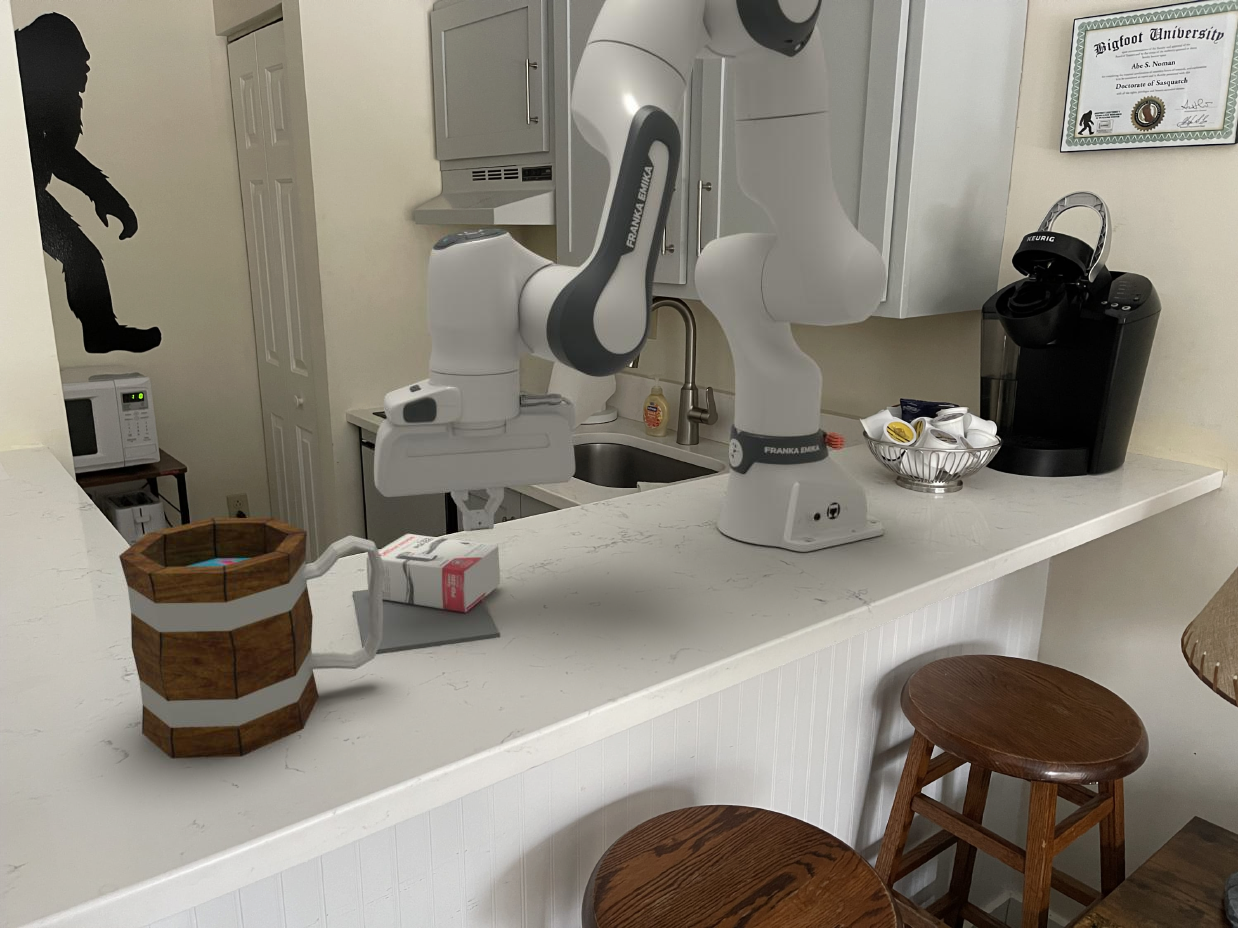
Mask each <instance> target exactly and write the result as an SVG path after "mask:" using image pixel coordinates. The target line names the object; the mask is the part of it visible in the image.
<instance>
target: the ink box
mask: <svg viewBox="0 0 1238 928" xmlns="http://www.w3.org/2000/svg"><path fill="white" fill-rule="evenodd" d="M378 552H379V554H380V556H381V559H382V561H383V563H384V579H383V593H382V599H383V600H389V601H395V602H402V603H408V604H414V605H421V606H427V607H433V608H439V609H447V610H452V611H458V612H465V613H466V612H467V611H468V610H470V609H471V608H472V607H473V606H474V605H476V604H477V603H478V602H479V601H480V600H483V599H484V598H485V597H487V596H488V595H489V594H490V593H491V592H493V591H494V590H495V589H496V588H497V587H499V586H500V585H501V572H500V558H499V557H500V556H499V554H500V552H499V545H497V544H493V543H483V542H476V541H470V540H469V541H467V540H460V539H453V538H451V539H450V538H444V537H435V536H427V535H422V534H421V535H419V534H413V533H412V534H411V533H406V534H404V535H403V536H400V537H399V538H398V539H395V540H393V542H390V543H389V544H386V546H384V547H382V548H381V549H379V550H378ZM370 577H371V564H370V561H369V557H368V556H367V557H366V578H367V581H366V582H367V590H368V596H369V586H370Z"/></svg>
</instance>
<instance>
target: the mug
mask: <svg viewBox="0 0 1238 928" xmlns="http://www.w3.org/2000/svg"><path fill="white" fill-rule="evenodd" d="M307 536H308V535H307V531H306V530H304V529H301V528H299V527H297V526H294V525H292V524H290V523H288V522H285V521H282V520H280V519H279V518H278V519H277V518H275V517H243V518H242V517H241V518H240V517H236V518H235V517H233V518H232V517H229V518H228V517H227V518H225V517H224V518H222V517H217V518H215V517H214V518H207V519H203V520H199V521H194V522H191V523H186V524H181V525H177V526H172V527H168V528H164V529H159V530H156V531H152V532H147V534H145V535H144V536H143V537H141V538H140V539H139V540H138V541H136V542H135V543H133V544H132V545H130V546H129V547H128V548H127V549H126V550H125V551H123V552H122V553H121V554H119V555H118V557H119V561H120V563H121V564H120V565H121V567H122V572H123V575H124V579H125V582H126V586H127V592H128V600H129V607H130V624H131V625H130V627H131V628H130V629H131V630H130V632H131V634H130V635H131V650H132V654H133V659H134V662H135V667H136V671H137V675H138V680H139V686H140V695H141V696H140V697H141V702H142V703H141V704H142V714H141V715H142V719H141V722H142V723H141V725H142V726H141V734H142V735H143V736H145V737H146V738H147V739H148V740H149V741H150V742H152V743H153V745H155V746H157V748H159V750H161V751H162V752H163V753H164V754H166V756H168V757H169V758H170V759H194V758H195V759H196V758H200V759H201V758H230V757H231V758H233V757H243V756H246V755H248V754H251V753H252V752H253V753H254V752H255V751H257V750H259V749H261V748H263V747H266V746H268V745H271V744H272V743H275V742H278V741H280V740H282V739H284V738H287V737H289V736H291V735H292V734H295V733H297V732H298V733H299V732H300V731H303V729H304V728H305V726H306V724H307V722H308V720H309V718H310V716H311V714H312V712H313V710H314V708H315V705H316V703H317V701H318V699H319V697H320V696H319V693H318V692H319V691H318V688H317V682H316V678H315V673H314V670H325V669H327V670H329V669H340V670H341V669H344V670H345V669H346V670H357V669H358V668H360V667H362V666H364V665H365V664H367V663H369V662H370V661H372V660H374V659H375V657H376V655H377V654H376V652H377V650H378V648H379V646H380V643H381V641H382V634H383V602H382V593H383V579H384V563H383V561H382V559H381V556H380V554H379V552H378V551H379V550H378V548H377V546H376V543H375V542H374V541H372V540H370V539H366V538H361V537H358V536H354V535H348V536H345V537H343V538H341V539H339V540H337V541H335V542H333V543H331V544H330V545H329V546H328V547H327V548H326V549H325V551H323V553H322V554H321V555H320V556H319V557H318V558H317V559H316V560H315V561H314V562H310V563H307V564H306V551H307ZM354 549H355V550H358V551H362V552H365V553H367V557H369V561H370V564H371V577H370V586H369V616H370V632H369V635H368V638H367V641H366V643H365V646H364V647H363V646H362V647H361V648H359V649H358V650H356V651H354V652H353V653H345V652H344V653H343V652H335V651H332V652H331V651H327V652H325V651H324V652H312V638H313V618H314V617H313V612H312V611H313V610H312V605H311V600H310V594H309V590H308V582H307V581H309V580H313V579H317V578H320V577H323V575H325V574H327V572H328V571H330V570H331V568H332V567H333V566H334V565H335V563H337V561H338V560H339V559H340V557H342V556H344V555H346V554H348V553H349V552H352V551H353V550H354Z"/></svg>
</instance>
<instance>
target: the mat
mask: <svg viewBox="0 0 1238 928" xmlns="http://www.w3.org/2000/svg"><path fill="white" fill-rule="evenodd" d="M352 597H353V603H354V607H355V613H356V617H357V618H356V619H357V624H358V629H359V634H360V639H361V644H362V648H363V647H364V646H365V643H366V641H367V638H368V635H369V632H370V616H369V596H368V589H362V590H354V591H352ZM382 602H383V634H382V641H381V643H380V646H379V648H378V650H377V652H376V655H377V654H382V653H383V654H384V653H391V652H398V651H405V650H412V649H421V648H426V647H428V648H429V647H434V646H440V645H441V646H442V645H448V644H456V643H463V642H471V641H478V640H484V639H493V638H500V637H501V632H500V631H499V630H500V629H498V627H497V624H496V623H495V621H494V619H493V618H492V615H491V614H490V611H489V609H488V608H487V606H486V603H485V602H484V601H483V599H482V600H480V601H479V602H478V603H477V604H476V605H474V606H473V607H472V608H471V609H470V610H468V611H467V612H466V613H465V612H458V611H452V610H447V609H439V608H433V607H427V606H421V605H414V604H408V603H402V602H395V601H389V600H383V599H382Z"/></svg>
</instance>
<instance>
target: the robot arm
mask: <svg viewBox="0 0 1238 928" xmlns="http://www.w3.org/2000/svg"><path fill="white" fill-rule="evenodd" d="M822 2H823V0H605V1H604V2H603V5H602V7H601V8H600V12H599V13H598V15H597V17H596V20H595V22H594V24H593V27H592V29H591V32H590V34H589V37H588V40H587V42H586V45H585V47H584V51H583V53H582V56H581V59H580V61H579V64H578V68H577V71H576V73H575V77H574V82H573V86H572V87H573V88H572V93H571V103H570V110H571V115H572V117H573V121H574V123H575V125H576V127H577V129H578V131H579V133H580V134H581V136H582V138H583V140H585V141H586V142H587V143H588V144H589V145H590V147H592V148H594V149H595V150H596V151H598V152H599V153H600V154H602V155H603V156H604V157H605V158H606V160H607V161H608V165H609V170H610V171H609V172H610V176H609V177H610V178H609V186H608V189H607V193H606V198H605V200H604V201H605V202H604V205H603V210H602V213H601V219H600V221H599V226H598V230H597V233H596V237H595V241H594V242H595V243H594V246H593V250H592V252H591V254H590V255H589V257H588V258H587V259H586V260H585V262H584V263H582V264H581V265H580V266H569V265H565V264H558V263H555V262H554V261H552V260H550V259H547V258H545V257H542V256H540V255H539V254H537V253H534V252H533V251H531V250H530V249H527V247H525V246H523V245H522V244H520V242H518V241H517V240H515V239H514V238H513V237H512V235H511V233H509V232H508V231H507V230H505V229H501V228H495V227H494V228H489V227H488V228H481V229H470V230H464V231H463V230H462V231H458V232H455V233H450V234H448V235H446V236H443V237H441V238H440V239H438V241H437V242H436V243H435V244H434V245H433V247H432V249H431V251H430V255H429V259H428V267H427V278H426V323H427V328H428V332H429V335H430V338H431V354H430V358H429V362H428V378H425V379H423V380H420V381H417V382H415V383H411V384H410V385H409V384H408V385H406V386H403V387H400V388H398V389H395V390H392V391H389V392H388V393H386V394H385V396H384V399H383V410H384V414H385V416H386V418H385V419H384V420H383V421H382V422H381V424H380V425H379V427H378V430H377V432H376V437H375V438H376V439H375V445H374V458H373V459H374V460H373V461H374V462H373V476H374V477H373V478H374V479H373V480H374V485H375V488H376V490H377V491H378V492H379V493H380V494H381V495H382V496H383V497H386V498H391V497H393V498H394V497H404V496H405V497H406V496H418V495H428V494H429V495H430V494H431V495H432V494H441V493H442V494H443V493H450V496H451V498H452V499H453V501H454V503H455V504H456V506H457V507H458V509H459V511H460V512H461V514H462V527H463V530H464V531H465V532H466V533H467V532H472V531H473V532H474V531H485V530H493V529H494V528H495V525H494V524H495V522H494V521H495V517H494V515H495V514H496V513H497V511H498V508H499V507H500V505H501V504H502V502H503V500H504V498H505V488H512V487H513V488H514V487H524V486H536V485H537V486H539V485H551V484H552V485H553V484H559V483H560V484H561V483H562V484H563V483H568V482H570V481H571V479H572V477H573V476H574V475H575V473H576V458H575V448H574V441H573V435H572V432H573V430H574V428H575V424H576V418H575V417H576V410H575V406H574V404H573V403H572V401H571V400H570V399H568V398H566V397H564V396H562V394H560V393H554V392H553V393H548V394H520V360H521V358H522V357H523V356H525V355H531V356H534V357H538V358H541V359H544V360H547V361H549V362H554V363H559V364H563V365H565V366H567V368H571V369H574V370H575V371H577V372H580V373H582V374H585V375H587V376H590V377H597V378H603V377H608V376H613V375H615V374H618V373H620V372H621V371H623V370H625V369H626V368H627V367H629V366H630V365H631V364H632V363H633V362H634V361H635V360H636V359H637V358H638V356H639V355H640V354H641V352H642V351H643V349H644V346H645V344H646V343H647V340H648V337H649V335H650V331H651V325H652V317H653V289H654V279H655V273H656V268H657V264H658V260H659V256H660V251H661V247H662V242H663V238H664V235H665V229H666V225H667V221H668V217H669V213H670V209H671V204H672V200H673V195H674V191H675V187H676V183H677V177H678V173H679V166H680V161H681V153H682V152H681V150H682V146H681V145H682V141H681V134H680V130H679V127H678V120H679V114H680V109H681V105H682V103H683V99H684V97H685V93H686V91H687V90H686V89H687V87H688V84H689V81H690V78H691V74H692V71H693V69H694V64H695V61H696V60H710V59H711V60H715V59H726V58H727V60H729V63H730V64H731V65H730V66H731V67H732V70H733V73H734V84H733V85H734V87H733V113H734V114H733V118H734V122H733V123H734V137H735V138H734V140H735V141H734V142H735V160H736V161H735V162H736V166H735V167H736V179H737V184H738V186H739V188H740V190H741V192H742V193H743V194H744V195H745V196H746V197H747V198H748V199H749V200H751V201H753V202H754V203H755V204H756V205H759V206H760V207H761V208H762V209H763V210H764V212H765V213H766V214H767V216H768V217H769V219H770V221H771V223H772V225H773V227H774V232H775V233H770V232H769V233H767V232H766V233H765V232H742V233H741V232H740V233H737V234H732V235H731V234H730V235H726V236H723V237H718V238H715V239H713V240H711V241H709V242H708V243H707V244H706V245H705V246H704V248H703V249H702V251H700V254H699V256H698V258H697V261H696V264H695V267H694V285H695V289H696V290H695V291H696V293H697V295H698V297H699V299H700V301H701V303H702V304H703V305H704V306H705V307H706V308H707V309H708V310H709V311H710V312H711V314H712V315H713V316H714V317H715V318H716V320H717V321H718V323H719V325H720V327H721V329H722V331H723V332H724V334H725V338H726V339H727V341H728V345H729V348H730V352H731V355H732V356H731V357H732V360H733V366H734V379H735V380H734V384H735V385H734V386H735V387H734V388H735V390H734V421H733V422H734V423H733V424H731V427H730V435H729V447H728V461H729V462H728V464H729V465H728V466H729V475H728V482H727V487H726V492H725V497H724V500H723V504H722V507H721V511H720V514H719V516H718V519H717V521H716V528H717V529H718V530H719V531H720V532H721V533H722V534H724V535H726V536H728V537H730V538H733V539H735V540H737V541H742V542H746V543H749V544H755V545H760V546H761V545H762V546H769V547H778V548H782V549H787V550H791V551H795V552H800V553H801V552H802V553H803V552H811V551H816V550H820V549H825V548H830V547H834V546H838V545H839V546H840V545H843V544H847V543H853V542H857V541H860V540H865V539H869V538H875V537H879V536H882V535H884V526H883V524H882V523H881V521H880V520H879V519H877V517H875V516H873V515H872V514H870V513H868V503H867V494H866V491H865V489H864V486H863V484H862V483H861V482H860V481H858V479H857V478H855V477H854V476H853V475H852V474H850V473H849V472H848V471H847V470H846V469H845V468H844V467H842V466H841V465H840V464H838V462H836V461H835V459H833V458H831V457H830V456H829V455H830V453H829V450H828V447H829V448H831V449H833V450H835V451H840V450H842V449H843V448H844V446H845V445H846V444H845V443H846V441H845V440H846V438H844V436H843V435H841V434H837V433H836V432H833V431H832V432H829V433H828V432H826V431H824V430H823V429H821V427H820V415H821V404H822V393H823V392H822V390H823V375H822V371H821V368H820V366H819V365H818V364H817V363H816V361H815V360H814V359H813V358H812V357H810V356H809V355H808V354H806V353H805V352H804V351H803V350H801V348H800V347H799V345H798V344H797V342H796V341H795V339H794V337H793V333H792V329H791V324H797V325H798V324H799V325H809V326H810V325H812V326H822V327H829V326H830V327H832V326H843V325H849V324H856V323H857V324H858V323H862V322H864V321H866V320H867V319H868V318H869V317H870V316H872V315H873V313H875V311H876V309H877V308H878V307H879V306H880V303H881V302H882V299H883V297H884V294H885V292H886V287H887V270H886V265H885V263H884V262H885V261H884V259H883V257H882V255H881V253H880V251H879V250H878V249H877V247H876V246H875V245H874V244H873V243H871V242H870V241H869V240H867V238H865V237H864V236H863V235H862V234H861V232H859V231H858V230H857V228H856V227H855V226H854V225H853V223H852V222H851V221H850V219H849V217H848V216H847V214H846V211H845V210H844V208H843V207H842V204H841V202H840V200H839V195H838V194H837V191H836V187H835V184H834V183H835V182H834V178H833V173H832V171H833V170H832V159H831V144H830V142H831V141H830V111H829V110H830V109H829V108H830V106H829V105H830V104H829V99H830V98H829V84H828V75H827V73H828V72H827V66H826V60H825V59H826V58H825V53H824V46H823V43H822V41H823V40H822V38H821V33H820V30H819V29H820V28H819V27H818V25H817V24H816V22H817V21H818V18H819V14H820V11H821V8H822ZM563 402H564V403H563ZM479 490H486V493H487V495H489V498H488V500H487V502H486V504H485V506H484V508H483V509H470V510H469V508H468V507H467V506H466V504H465V503H464V501H468V500H469V491H479Z"/></svg>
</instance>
